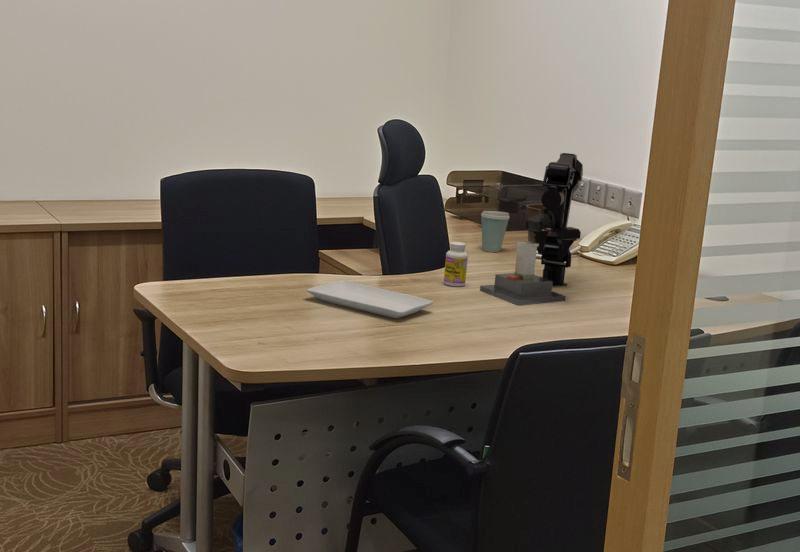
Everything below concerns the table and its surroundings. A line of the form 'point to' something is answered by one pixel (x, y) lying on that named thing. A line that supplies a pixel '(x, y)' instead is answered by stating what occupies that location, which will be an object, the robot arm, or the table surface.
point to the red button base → (522, 290)
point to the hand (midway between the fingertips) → (549, 256)
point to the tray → (369, 298)
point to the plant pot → (532, 211)
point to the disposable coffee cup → (493, 229)
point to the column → (525, 260)
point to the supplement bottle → (456, 265)
